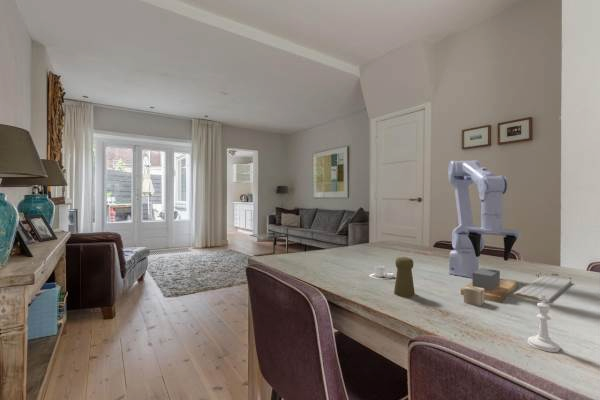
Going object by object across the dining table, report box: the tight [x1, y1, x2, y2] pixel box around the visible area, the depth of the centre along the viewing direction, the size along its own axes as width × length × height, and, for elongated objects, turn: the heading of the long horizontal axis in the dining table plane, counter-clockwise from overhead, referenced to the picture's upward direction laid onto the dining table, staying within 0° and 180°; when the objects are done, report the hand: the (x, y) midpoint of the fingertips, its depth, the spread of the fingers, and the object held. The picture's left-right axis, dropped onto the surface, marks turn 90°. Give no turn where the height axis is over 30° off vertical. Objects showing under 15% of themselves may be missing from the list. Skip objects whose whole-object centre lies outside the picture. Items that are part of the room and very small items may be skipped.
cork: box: [393, 256, 416, 298], centre depth 90 cm, size 6×6×11 cm
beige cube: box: [463, 284, 485, 307], centre depth 82 cm, size 4×4×4 cm
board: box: [460, 278, 518, 303], centre depth 93 cm, size 10×22×2 cm, turn 134°
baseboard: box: [511, 272, 572, 304], centre depth 95 cm, size 30×3×10 cm
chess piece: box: [527, 295, 561, 353], centre depth 58 cm, size 5×5×10 cm
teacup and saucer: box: [368, 265, 396, 280], centre depth 109 cm, size 9×8×4 cm
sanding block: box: [471, 267, 501, 293], centre depth 90 cm, size 5×9×5 cm, turn 134°
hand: (491, 258), depth 92 cm, fingers open, 7 cm apart
